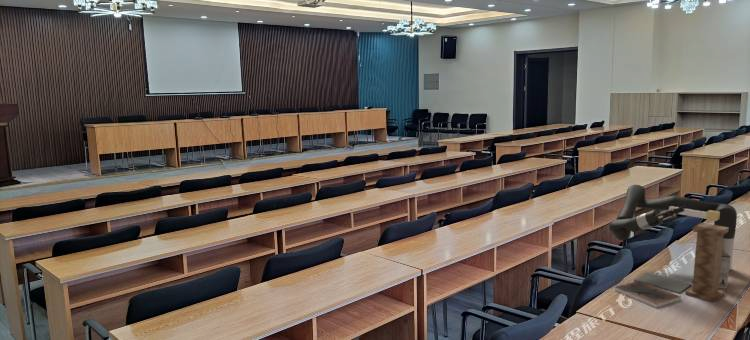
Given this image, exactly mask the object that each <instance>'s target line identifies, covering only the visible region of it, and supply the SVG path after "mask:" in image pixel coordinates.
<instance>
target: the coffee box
mask: <svg viewBox="0 0 750 340" xmlns="http://www.w3.org/2000/svg"><path fill="white" fill-rule="evenodd" d="M729 264H730V256H729V255H728V254H727V253H726V252H725V251H724V250H722V255H721V265H720V275H719V285H718V289H727V288H728V282H729V281H728V280H729V272H730V271H729Z"/></svg>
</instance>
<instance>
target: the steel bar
mask: <svg viewBox="0 0 750 340" xmlns="http://www.w3.org/2000/svg"><path fill="white" fill-rule="evenodd" d="M677 208H679V207H674V206H670V207H669V211H670V210H672V209H677ZM683 209H684V211H683V212H680V213H677V214H676V215H681V214H682V215H683V216H689V217H692V218H693V217H694V218H699V219H700V218H701V219H705V220H707V221H708V220H709V221H713V222H714V221H717V220H719V217H720V212H719V211H713V210H709V211H707V212H704V211H698V210H692V209H685V208H683Z"/></svg>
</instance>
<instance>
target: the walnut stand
mask: <svg viewBox="0 0 750 340" xmlns="http://www.w3.org/2000/svg"><path fill="white" fill-rule="evenodd" d="M728 230H729V227H723V226H718V225H714V224H712V223H706V222H700V223H698V224H697V225H695V226H693V227H692V232H694V233H697V234H696V243H695V254H694V265H693V266H694V267H693V278H692V285H691V286H690V287H688V288H687V289H686V290H685V295H686V296H690V297H695V298H698V299H701V300H704V301H709V302H713V303H716V302H717V301H719V299H720V298H721V297H723V296H724V295H725V291H724V290H721V289H719V288H718V285H719V275H720V265H721V255H722V245H723V235H724V234H726V233H727V232H728Z"/></svg>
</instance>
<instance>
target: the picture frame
mask: <svg viewBox="0 0 750 340" xmlns="http://www.w3.org/2000/svg"><path fill="white" fill-rule="evenodd" d="M614 291H616V292H618V293H620V294H622V295H624V296H628V297H630V298H632V299H634V300H636V301H639V302H641V303H644V304H646V305H648V306H651V307H653V308H656V309H657V308H659V307H663V306H666V305H668V304H669V305H670V304H672V303H675V302H679V301H681V299H682V297H681V296H680V295H677V294H675V293H674V292H671V291H669V290H665V289H661V288H658V287H655V286H652V285H650V284H647V283H644V282H642V281H633V282H632V281H631V282H628V283H624V284H619V285H617V286H614Z"/></svg>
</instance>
